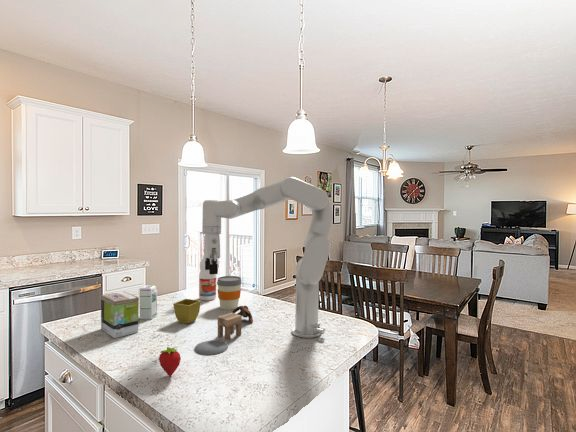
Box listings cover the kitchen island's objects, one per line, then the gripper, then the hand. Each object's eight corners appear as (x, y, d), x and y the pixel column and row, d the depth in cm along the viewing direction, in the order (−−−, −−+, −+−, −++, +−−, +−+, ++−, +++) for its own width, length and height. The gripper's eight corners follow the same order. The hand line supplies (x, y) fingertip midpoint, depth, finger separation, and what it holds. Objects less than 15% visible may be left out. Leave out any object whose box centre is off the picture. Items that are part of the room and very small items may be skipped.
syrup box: (151, 319, 153) (151, 288, 153) (139, 319, 153) (139, 287, 153) (157, 315, 159) (157, 285, 158) (144, 315, 159) (144, 284, 158)
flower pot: (172, 323, 149) (172, 303, 149) (185, 317, 157) (185, 298, 157) (188, 326, 146) (188, 305, 145) (201, 320, 154) (201, 300, 153)
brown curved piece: (252, 327, 147) (243, 312, 145) (234, 334, 149) (225, 320, 147) (257, 311, 159) (248, 297, 157) (240, 319, 160) (231, 305, 159)
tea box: (139, 332, 138) (139, 296, 137) (113, 339, 130) (113, 301, 130) (124, 323, 148) (125, 290, 148) (100, 329, 141) (100, 294, 140)
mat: (234, 347, 124) (234, 346, 124) (207, 358, 115) (207, 357, 115) (214, 338, 132) (214, 337, 132) (187, 348, 123) (187, 347, 123)
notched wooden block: (241, 335, 136) (241, 315, 136) (227, 340, 131) (227, 320, 130) (231, 331, 140) (231, 312, 140) (217, 336, 135) (217, 316, 134)
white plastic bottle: (212, 295, 195) (212, 247, 195) (218, 299, 188) (219, 249, 187) (196, 297, 190) (196, 248, 189) (202, 301, 182) (203, 250, 182)
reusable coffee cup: (239, 311, 168) (239, 281, 167) (214, 310, 168) (214, 280, 167) (242, 303, 180) (243, 276, 180) (219, 303, 180) (220, 275, 180)
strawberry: (167, 383, 98) (167, 350, 98) (154, 375, 103) (154, 343, 103) (185, 376, 103) (185, 344, 103) (172, 368, 108) (172, 337, 108)
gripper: (225, 231, 131) (225, 275, 131) (216, 228, 146) (215, 267, 147) (206, 232, 128) (205, 276, 128) (199, 228, 143) (198, 268, 144)
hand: (211, 271), depth 138 cm, fingers open, 9 cm apart
